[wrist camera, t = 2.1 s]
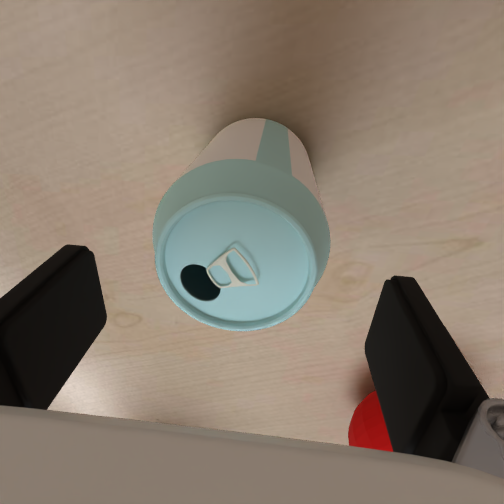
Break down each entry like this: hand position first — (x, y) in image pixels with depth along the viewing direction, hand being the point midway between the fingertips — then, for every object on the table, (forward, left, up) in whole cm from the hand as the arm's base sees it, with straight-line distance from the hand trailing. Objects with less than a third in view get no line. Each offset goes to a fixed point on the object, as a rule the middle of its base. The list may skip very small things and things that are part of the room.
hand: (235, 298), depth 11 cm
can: (0, 0, -13) cm, 13 cm away
